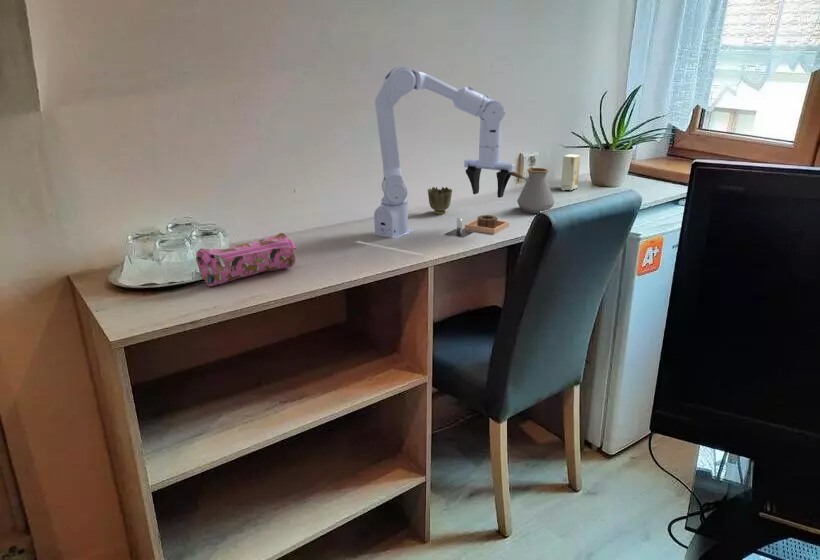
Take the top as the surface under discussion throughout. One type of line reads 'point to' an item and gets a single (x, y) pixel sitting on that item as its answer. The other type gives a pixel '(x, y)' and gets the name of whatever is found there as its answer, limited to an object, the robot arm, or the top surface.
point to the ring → (487, 221)
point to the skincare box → (570, 172)
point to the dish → (474, 227)
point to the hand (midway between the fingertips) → (487, 195)
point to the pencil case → (245, 259)
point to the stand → (459, 230)
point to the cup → (439, 199)
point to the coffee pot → (535, 191)
